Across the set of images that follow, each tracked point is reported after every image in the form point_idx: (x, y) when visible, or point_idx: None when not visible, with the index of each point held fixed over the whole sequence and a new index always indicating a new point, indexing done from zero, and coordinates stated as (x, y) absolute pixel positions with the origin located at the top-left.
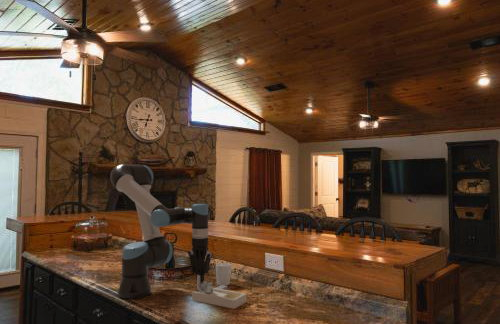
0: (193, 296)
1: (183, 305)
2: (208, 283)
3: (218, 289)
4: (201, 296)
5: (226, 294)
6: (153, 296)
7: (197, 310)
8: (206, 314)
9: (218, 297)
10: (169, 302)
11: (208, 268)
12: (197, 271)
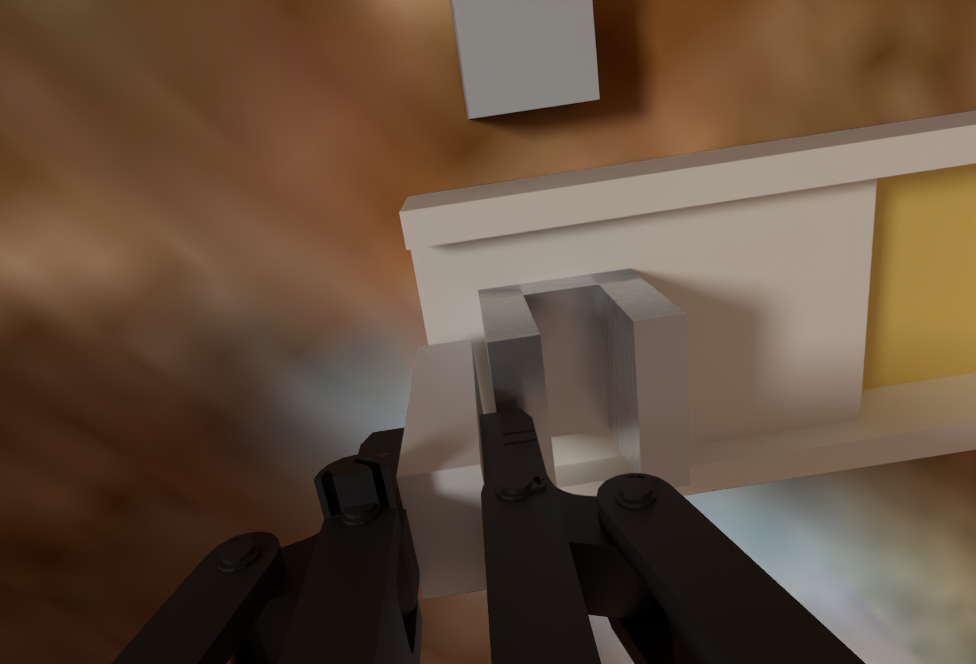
0: None
1: None
2: (655, 411)
3: (709, 203)
4: None
5: (869, 210)
6: (15, 653)
7: None
8: (867, 628)
9: (905, 456)
10: None
11: (752, 576)
12: (419, 653)
